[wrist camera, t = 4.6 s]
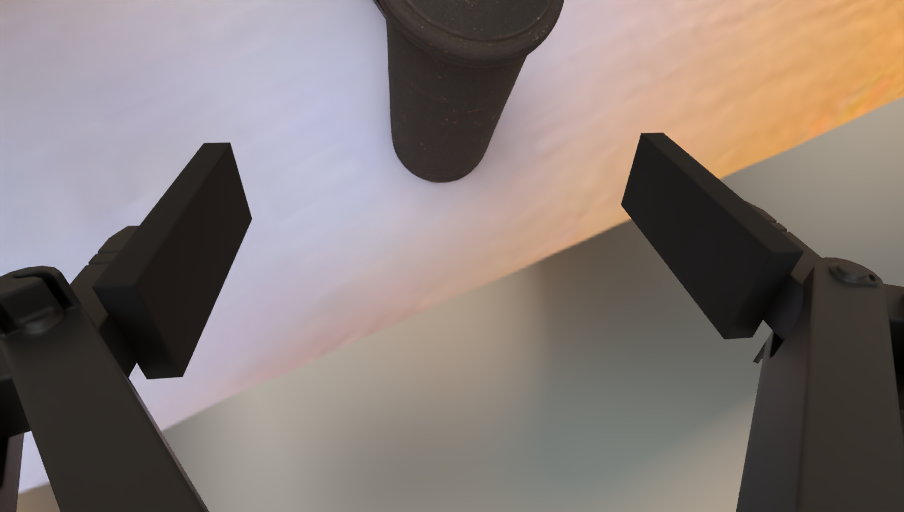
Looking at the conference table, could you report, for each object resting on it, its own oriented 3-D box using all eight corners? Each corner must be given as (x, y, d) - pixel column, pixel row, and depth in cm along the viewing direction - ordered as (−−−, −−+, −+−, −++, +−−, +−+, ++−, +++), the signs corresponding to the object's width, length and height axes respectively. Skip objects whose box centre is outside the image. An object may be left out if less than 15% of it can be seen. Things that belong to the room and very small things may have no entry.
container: (479, 78, 40) (550, -160, 20) (501, 177, 39) (598, 31, 19) (379, 92, 39) (349, -143, 19) (399, 195, 38) (389, 59, 18)
